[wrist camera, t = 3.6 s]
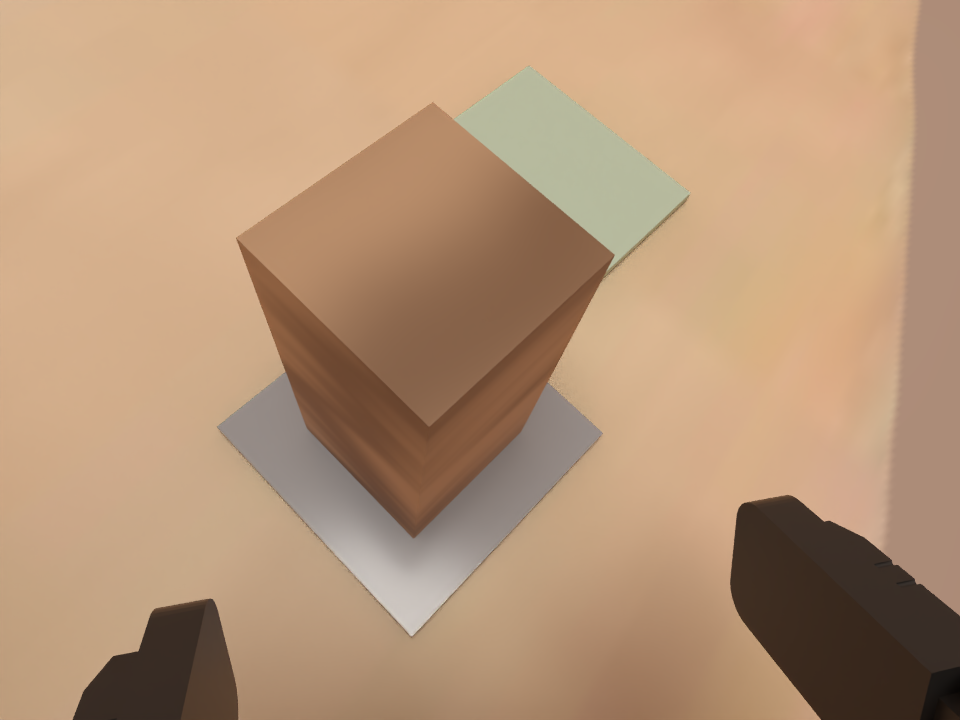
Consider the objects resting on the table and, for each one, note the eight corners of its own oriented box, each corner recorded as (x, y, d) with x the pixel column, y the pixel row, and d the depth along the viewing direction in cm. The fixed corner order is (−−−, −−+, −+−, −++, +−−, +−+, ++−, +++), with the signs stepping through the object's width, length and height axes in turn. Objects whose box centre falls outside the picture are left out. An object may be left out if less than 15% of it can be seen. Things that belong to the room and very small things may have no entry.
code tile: (219, 430, 23) (216, 426, 22) (418, 270, 26) (418, 265, 26) (411, 637, 21) (411, 637, 20) (599, 436, 24) (603, 433, 24)
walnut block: (306, 428, 23) (236, 237, 13) (417, 334, 24) (432, 102, 14) (413, 539, 22) (429, 427, 12) (520, 431, 23) (615, 255, 13)
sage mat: (375, 183, 27) (374, 175, 27) (526, 74, 31) (529, 65, 30) (543, 334, 25) (545, 328, 25) (686, 200, 29) (690, 193, 28)
